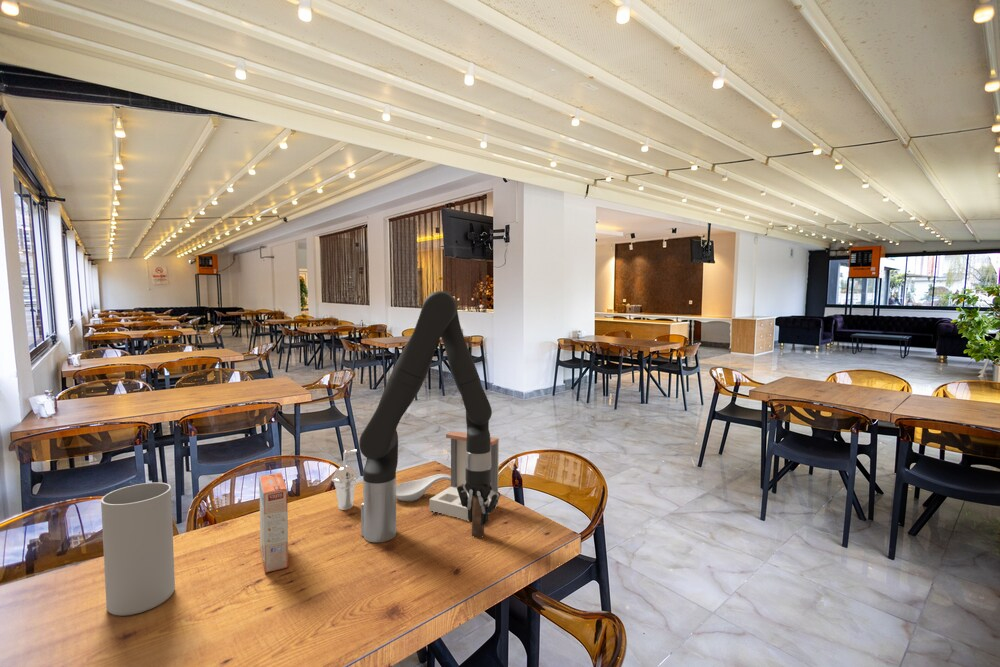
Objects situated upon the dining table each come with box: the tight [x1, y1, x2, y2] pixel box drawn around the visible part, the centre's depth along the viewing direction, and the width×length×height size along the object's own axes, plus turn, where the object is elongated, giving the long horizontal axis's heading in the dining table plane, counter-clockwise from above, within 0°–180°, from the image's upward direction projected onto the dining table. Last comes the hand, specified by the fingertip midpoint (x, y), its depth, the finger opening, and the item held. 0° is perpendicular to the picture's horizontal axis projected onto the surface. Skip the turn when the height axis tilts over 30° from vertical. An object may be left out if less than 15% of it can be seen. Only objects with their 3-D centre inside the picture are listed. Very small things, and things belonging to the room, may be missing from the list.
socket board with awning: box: [428, 430, 500, 521], centre depth 157 cm, size 18×14×23 cm
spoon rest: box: [396, 473, 451, 502], centre depth 168 cm, size 24×12×7 cm, turn 108°
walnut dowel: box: [471, 496, 485, 538], centre depth 140 cm, size 4×4×12 cm
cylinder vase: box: [100, 482, 176, 617], centre depth 108 cm, size 12×12×25 cm
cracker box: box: [258, 472, 289, 574], centre depth 126 cm, size 14×6×21 cm, turn 30°
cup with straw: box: [331, 449, 360, 511], centre depth 157 cm, size 8×9×20 cm
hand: (478, 522), depth 140 cm, fingers closed on walnut dowel, 3 cm apart
